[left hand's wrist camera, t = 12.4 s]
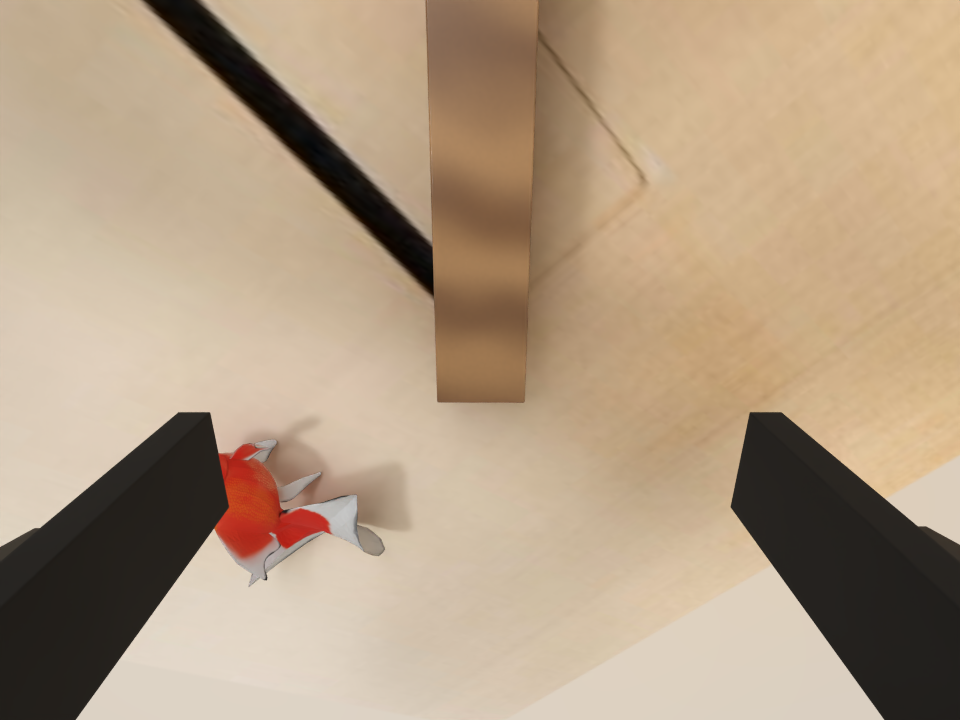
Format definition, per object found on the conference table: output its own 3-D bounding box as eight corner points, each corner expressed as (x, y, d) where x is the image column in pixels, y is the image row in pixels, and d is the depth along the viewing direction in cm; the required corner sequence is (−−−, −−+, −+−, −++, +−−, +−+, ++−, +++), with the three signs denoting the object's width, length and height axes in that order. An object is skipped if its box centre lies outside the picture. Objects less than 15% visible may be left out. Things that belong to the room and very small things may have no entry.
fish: (267, 375, 33) (214, 533, 27) (423, 468, 43) (410, 598, 37) (172, 421, 38) (109, 563, 32) (332, 495, 48) (308, 613, 42)
